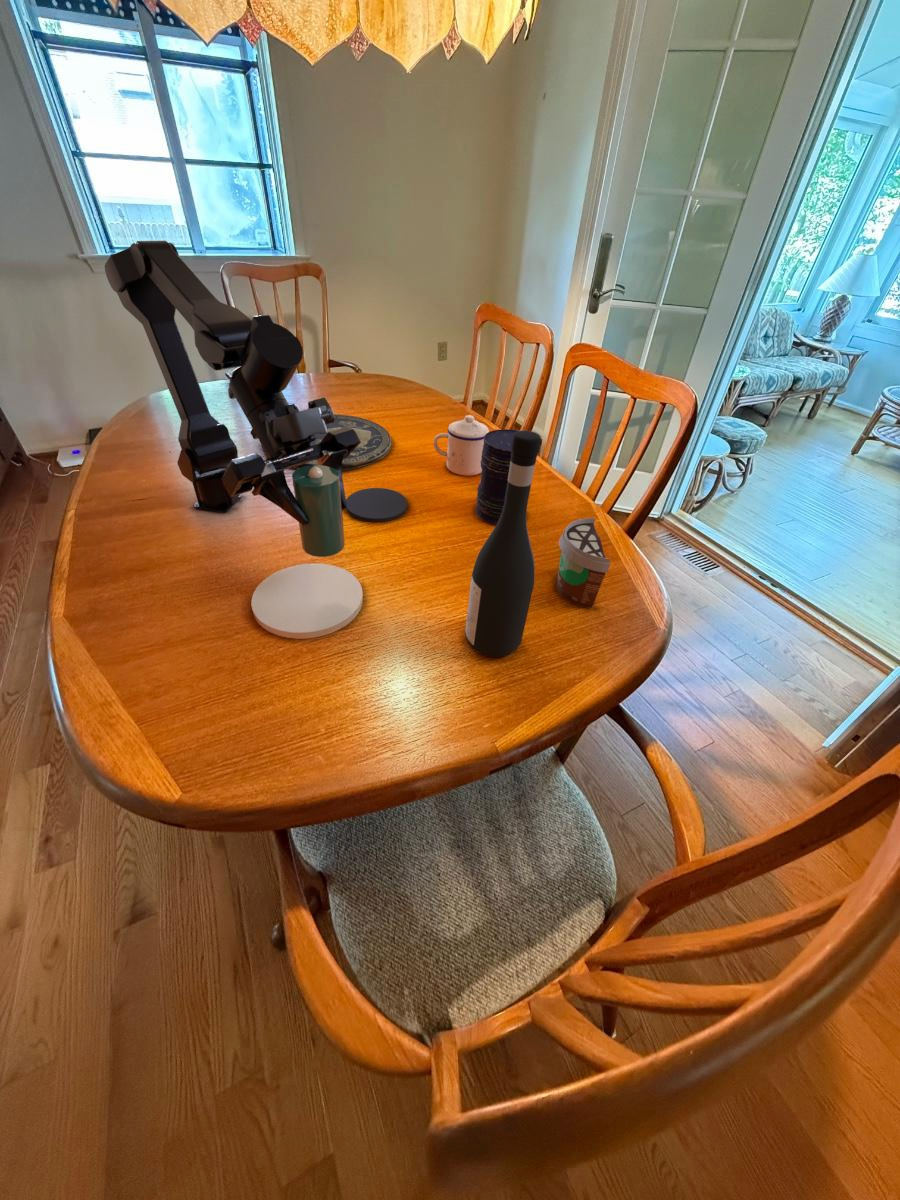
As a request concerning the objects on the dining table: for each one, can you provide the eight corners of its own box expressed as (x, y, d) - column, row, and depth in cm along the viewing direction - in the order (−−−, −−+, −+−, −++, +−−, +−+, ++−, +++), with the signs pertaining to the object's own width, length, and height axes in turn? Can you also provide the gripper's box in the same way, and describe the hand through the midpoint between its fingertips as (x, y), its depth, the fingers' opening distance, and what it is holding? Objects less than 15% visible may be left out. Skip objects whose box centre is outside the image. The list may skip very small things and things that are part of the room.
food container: (544, 564, 86) (556, 513, 79) (580, 566, 86) (594, 516, 79) (554, 611, 76) (568, 558, 70) (593, 614, 76) (611, 561, 70)
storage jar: (478, 526, 94) (487, 450, 84) (472, 500, 101) (479, 428, 91) (530, 526, 95) (544, 451, 85) (519, 500, 102) (532, 429, 93)
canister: (297, 555, 69) (284, 475, 62) (308, 531, 74) (298, 455, 66) (339, 558, 69) (332, 480, 62) (348, 535, 74) (343, 459, 66)
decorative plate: (234, 452, 107) (294, 406, 129) (236, 460, 108) (295, 413, 130) (368, 474, 103) (405, 422, 126) (368, 482, 105) (405, 430, 127)
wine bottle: (456, 650, 68) (478, 440, 49) (474, 615, 74) (501, 415, 55) (512, 668, 67) (558, 457, 47) (526, 630, 72) (572, 429, 53)
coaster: (337, 517, 93) (336, 513, 92) (356, 487, 102) (356, 484, 101) (399, 526, 92) (399, 522, 91) (413, 495, 101) (413, 492, 100)
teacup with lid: (486, 461, 116) (492, 411, 108) (483, 478, 109) (490, 426, 101) (435, 455, 116) (437, 405, 109) (430, 472, 109) (432, 420, 102)
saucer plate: (232, 628, 69) (230, 622, 68) (280, 562, 81) (279, 556, 80) (343, 647, 68) (342, 640, 67) (375, 577, 80) (375, 571, 79)
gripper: (211, 392, 54) (283, 521, 56) (348, 365, 65) (405, 473, 67) (195, 439, 63) (258, 548, 65) (318, 408, 74) (369, 502, 76)
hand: (326, 516), depth 68 cm, fingers closed on canister, 6 cm apart
